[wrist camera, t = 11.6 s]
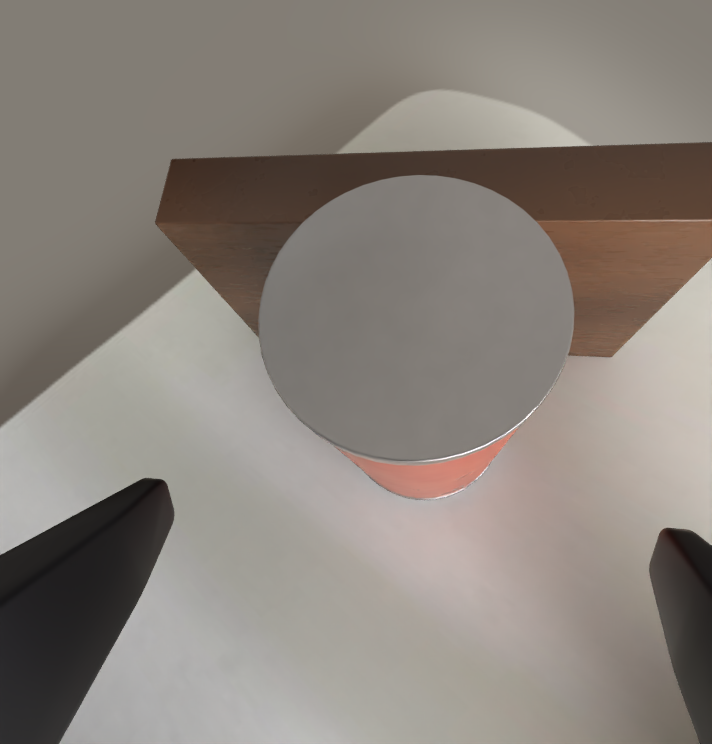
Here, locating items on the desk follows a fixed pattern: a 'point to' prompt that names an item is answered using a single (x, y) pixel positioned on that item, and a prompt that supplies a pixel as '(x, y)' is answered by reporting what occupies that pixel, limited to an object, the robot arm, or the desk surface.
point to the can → (417, 328)
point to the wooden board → (490, 170)
